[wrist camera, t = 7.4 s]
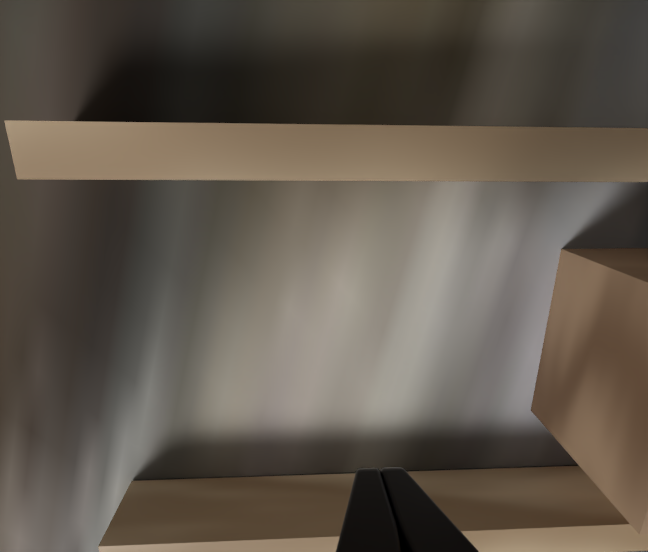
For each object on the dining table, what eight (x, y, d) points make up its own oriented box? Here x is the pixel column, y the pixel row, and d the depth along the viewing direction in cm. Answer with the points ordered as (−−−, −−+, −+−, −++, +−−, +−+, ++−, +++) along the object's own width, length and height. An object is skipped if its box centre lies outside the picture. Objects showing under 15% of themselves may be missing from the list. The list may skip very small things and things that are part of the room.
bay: (700, 485, 16) (787, 559, 13) (136, 506, 15) (96, 592, 12) (831, 135, 12) (998, 131, 9) (70, 126, 11) (-14, 119, 8)
